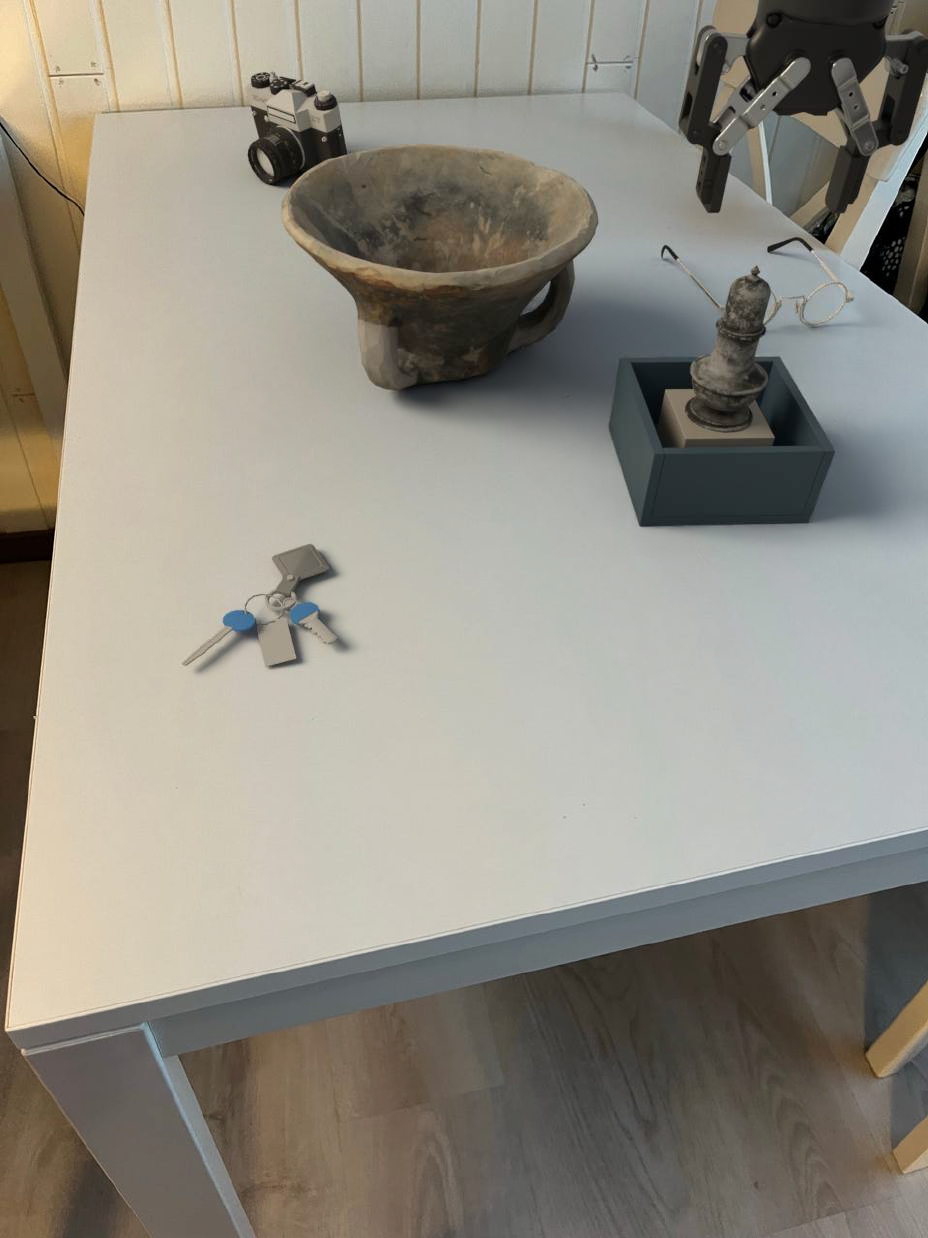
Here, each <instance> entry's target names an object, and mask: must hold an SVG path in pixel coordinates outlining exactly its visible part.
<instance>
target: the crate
mask: <svg viewBox="0 0 928 1238" xmlns="http://www.w3.org/2000/svg"><path fill="white" fill-rule="evenodd" d="M699 357H700V356H669V357H668V356H665V357H664V356H661V357H660V356H659V357H658V356H657V357H656V356H655V357H650V356H649V357H648V356H646V357H645V356H643V357H639V356H638V357H637V356H636V357H635V356H634V357H631V356H630V357H619V359H618V365H617V372H616V378H615V383H614V390H613V395H612V402H611V408H610V414H609V420H608V425H607V428H608V430H609V431H608V432H609V433H610V436H611V441H612V443H613V447H614V449H615V453H616V456H617V460H618V462H619V465H620V469H621V472H622V475H623V478H624V481H625V484H626V488H627V491H628V494H629V497H630V500H631V504H632V507H633V510H634V514H635V517H636V520H637V523H638V526H639V527H655V526H656V527H657V526H658V527H659V526H662V527H663V526H665V527H666V526H704V525H705V526H709V525H710V526H711V525H712V526H714V525H755V524H757V525H758V524H761V525H762V524H763V525H765V524H806V523H810V521H811V518H812V515H813V513H814V511H815V508H816V506H817V502H818V500H819V498H820V494H821V492H822V490H823V486H824V483H825V481H826V480H827V479H826V478H827V476H828V474H829V470H830V467H831V465H832V462H833V460H834V457H835V455H836V449H835V448H834V446H833V444H832V443H831V441H830V439H829V437H828V436H827V434H826V433H825V431H824V429H823V427H822V426H821V424H820V422H819V420H818V419H817V417H816V415H815V414H814V412H813V411H812V409H811V407H810V406H809V404H808V402H807V400H806V399H805V396H804V395H803V393H802V392H801V390H800V388H799V386H798V385H797V383H796V382H795V380H794V378H793V376H792V375H791V373H790V371H789V369H788V368H787V366H786V365H785V363H784V361H783V360H782V357H781V356H779V355H778V356H777V355H776V356H773V355H772V356H755V362H756V363H757V364H759V365H760V366H761V367H762V368H763V369H764V370H765V372H766V373H767V375H768V382H767V385H766V387H765V388H763V389H762V390H761V391H760V393H759V395H758V397H757V398H756V399H755V401H756V403H757V404H758V406H759V408H760V410H761V412H762V414H763V416H764V418H765V420H766V422H767V424H768V425H769V427H770V429H771V431H772V433H773V435H774V437H775V439H774V442H773V445H772V446H756V447H685V448H662V445H661V442H660V440H659V437H658V434H657V428H658V423H659V418H660V414H661V409H662V404H663V399H664V394H665V390H666V389H693V385H692V376H691V374H690V366H691V364H692V362H693V361H695V360H696V359H697V358H699Z"/></svg>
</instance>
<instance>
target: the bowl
mask: <svg viewBox="0 0 928 1238" xmlns="http://www.w3.org/2000/svg"><path fill="white" fill-rule="evenodd" d="M347 154H348V155H345V156H340V157H337V158H332V159H328V160H325V161H324V162H322V163H320V164H318V165H317V166H315V167H313V168H311V169H310V170H308V171H307V172H303V174H302V175H301V176H300V177H298V178H297V179H296V180H295V182H294V183H293V184H292V185H291V186H290V188H289V189H288V190H287V192H286V193H285V195H284V197H283V198H282V201H281V208H280V217H281V218H280V219H281V221H282V224H283V227H284V229H285V231H286V232H287V233H288V235H289V236H290V237H291V238H292V240H293V241H294V242H295V243H296V245H298V246H299V247H300V248H301V249H302V250H303V251H304V252H305V253H307V254H308V256H310V257H311V258H312V259H313V260H314V261H315V263H317V265H319V266H320V267H322V268H323V269H324V270H325V271H327V273H329V274H330V275H331V276H332V277H333V278H334V279H335V280H336V281H337V282H338V283H339V284H340V285H341V286H342V287H343V288H344V289H345V290H346V291H347V292H348V294H350V296H351V297H352V299H353V300H354V303H355V306H356V307H355V308H356V311H357V334H358V336H357V337H358V344H359V345H358V346H359V352H360V359H361V365H362V366H363V368H364V371H365V373H366V375H367V378H368V380H369V381H370V382H371V383H372V384H373V385H374V386H376V387H379V388H381V389H383V390H389V391H399V390H402V389H405V388H408V387H411V386H416V385H424V384H425V385H426V384H434V383H439V382H440V383H441V382H448V381H459V380H465V379H468V378H471V377H473V376H480V375H486V374H488V373H490V372H492V371H494V370H495V369H497V368H498V367H500V366H501V365H502V364H504V363H505V361H506V360H507V358H508V355H509V353H511V352H514V351H517V350H521V349H524V348H527V347H530V346H534V345H536V344H538V343H540V342H542V341H543V340H544V339H546V338H547V337H548V336H549V335H550V334H551V333H552V332H554V331H555V330H556V329H557V327H558V326H559V324H560V323H561V322H562V320H563V319H564V317H565V314H566V311H567V309H568V306H569V304H570V301H571V298H572V294H573V290H574V286H575V280H576V275H575V274H576V273H575V264H574V259H576V258H577V257H578V256H579V255H580V254H581V253H583V252H584V251H585V250H586V248H587V247H588V246H589V245H590V243H592V240H593V238H594V237H595V234H596V233H597V227H598V226H599V213H598V210H597V207H596V205H595V202H594V200H593V198H592V196H591V195H590V193H589V192H588V191H587V190H586V188H585V187H583V186H582V185H581V184H580V183H578V181H576V179H574V178H573V177H571V176H570V175H568V174H566V173H564V172H561V171H559V170H556V169H553V168H552V169H551V168H548V167H545V166H543V165H540V164H538V163H536V162H533V161H531V160H529V159H527V158H525V157H522V156H520V155H517V154H513V153H510V152H509V153H508V152H504V151H502V150H496V149H490V148H479V147H478V148H477V147H476V148H475V147H468V146H467V147H466V146H458V145H448V144H433V143H407V144H400V145H392V146H382V147H377V148H372V149H365V150H360V151H356V152H351V153H347ZM548 284H549V286H548V291H547V293H546V295H545V297H544V299H543V300H542V302H541V303H540V304H539V305H538V306H537V307H536V308H534V309H532V310H531V311H528V312H525V313H523V312H524V310H525V309H526V308H527V306H528V305H530V303H531V302H532V301H533V300H534V298H536V297H537V296H538V294H540V292H541V291H542V290H543V289H544V288H545V287H546V286H547V285H548ZM522 313H523V314H522Z"/></svg>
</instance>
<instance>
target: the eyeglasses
mask: <svg viewBox="0 0 928 1238" xmlns="http://www.w3.org/2000/svg"><path fill="white" fill-rule="evenodd" d="M793 242H799V243H801V244H802V245H803V247H805V249H807V250H808V251H809V253H810V254H812V255H813V256H815V258H816V259H817V260H818V262H819V264H820V265H821V266H822V267H823V268H824V270H825V272H826V273H827V274H828V275H829V276H830V278H832V281H828V282H825V283H823V284H821V285H820V286H817V288H815V289H814V290H813V291H812V292H810V294H809V295H808V296H807V297H805V295H804V294H802V295H796V296H795V295H794V296H787V295H782V296H779V298H778V301H777V297H776V295H775V293H774V292H773V291H772V290H771V294H772V296H773V300H774V301H773V302H772V304H771V306H770V308H769V310H768V311H767V314H768V316H767V317H766V318H764V320H763V324H764V326H765V327H766V325H768V324H769V323H770V322H771V321H773V320H774V318H775V317H776V315H777V314H778V312H779V310H780V308H782V307H783V303H782V301H783V299H784V300H785V299H789V300H793V299H796V300H794V311H795V314H798V315H797V316H798V319H799V321H800V322H801V324H802V325H805V326H806V327H813V328H817V327H819V325H822V324H825V323H827V322H829V321H830V320H832V319H833V318H834V317H836V316H837V315H838V314H839V313H840V311H841V310H842V309H843V308H844V307H845V304H847V303H851V302H854V300H855V297H854V296H853V294H852V293H851V292H850V291H849V290H848V288H847V286H845V285H844V284H843V283H842V281H841V280H839V278H838V277H837V276H836V275H835V274H834V272H833V271H832V270H831V269H830V268H829V267H828V266H827V264H826V263H825V262H824V261H823V260H821V259H820V258H819V256H818V255H817V254H816V251H815V249H814V248H813V247H812V246H811V244H810V243H808V242H807V241H806V240H805V239H804V238H802V237H800V236H794V237H791V238H788V239H784V240H782V241H779V242H776V243H773V244H770V245H768V246H767V248H766V252H767V253H772V252H774V251H777V250H778V249H780V248H782V247H785V246H787V245H788V244H791V243H793ZM665 250H666V251H667V252H668V253H669V254H670V256H671V257H672V258H673V259H674V261H675V262H677V263H678V264H679V265H680V266H681V267H682V268H683V269H684V270H685V273H686V274H687V275H688V276H689V277H690V278H691V280H692V281H693V282H694V283H695V285H697V287H699V289H700V290H701V291H702V292H703V294H705V296H706V297H707V298H708V299H709V300H710V301H711V303H712V304H713V305H714V306H715V307H716V308H717V309H718V310H719V312H724V310H725V306H726V304H725V305H723V304H720V303H719V302H718V301H717V299H715V297H714V296H713V295H712V294H711V293H710V292H709V291H708V290H707V289H706V288H705V286H704V285H703V284H702V283H701V281H699V280H698V279H697V278H696V277H695V275H694V274H693V273H692V272H691V270H689V269H688V268H687V267H685V265H684V264H683V263H682V261H681V258H680V257H679V256H678V255H677V254H676V253H675V251H674V250H673V249H672V248H671V246H669V245H668V244H664V245H662V247H661V251H660V258H661V260H663V258H664V254H665ZM830 285H837V286H838V287H839V288H840V290H841V291H842V292H843V293H844V298H843V300H842V303H841V304H840V306H839V307H838V308H837V310H836V311H835V312H834V313H832V314H831V315H830V316H828V317H827V318H825V319H824V320H821V321H817V322H811V321H807V320H806V318H805V315H804V313H805V310H806V309H805V308H806V306H807V304H808V302H809V301H810V299H811V298H812V297H813V296H814V295H815V294H816V293H817V292H818V291H820V290H821V289H823V288H824V287H825V288H826V287H827V286H830ZM798 299H800V301H799V302H798Z"/></svg>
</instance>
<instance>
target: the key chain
mask: <svg viewBox="0 0 928 1238" xmlns="http://www.w3.org/2000/svg"><path fill="white" fill-rule="evenodd" d="M271 560H272V562H273V564H274V565H275V567H276V568H277V570H278V571H279V572H280V574H281V576H282V578H281V581H280V582H279V584H278V585H277V586H276V588H275V589H272V590H270V591H269V592H268V593H259V594H258V593H257V594H254V595H252V596H250V597H249V598H248V599H247V600H246V601H245V603H244V605H243V609H236V610H231V611H228V612H227V613H225V615H224V616H223V617H222V624H223V625H224V627H223V628H221V629H220V630H218V632H216V633H215V634H214V635H213V636H212V637H211V638H210V639H208V640H206V641H205V642H204V643H202V645H200V646H199V647H198V648H197V649H195V651H194V652H192V653H191V654H190V655H189V656H188V657H187V658H186V659H184V660H183V661H182V662H181V664H182V665H183V666H185V667H187V666H188V665H190V664H192V663H193V662H194V661H195V660H196V659H198V658H199V657H202V656H203V655H204V654H206V653H207V651H208V650H210V649H211V648H212V647H213V646H214V645H216V644H218V643H219V642H220V641H222V639H223V638H225V637H226V636H227V635H228V634H229V633H231V632H232V631H234V632H238V633H242V632H247V631H249V630H251V629H252V628H254V626H255V625H256V624H258V625H257V626H256V632H257V637H258V640H259V646H260V650H261V654H262V659H263V662H264V667H265V668H268V667H271V666H275V665H278V664H282V663H285V662H290V661H293V660H296V659H297V655H296V652H295V647H294V643H293V639H292V635H291V632H290V628H289V624H288V620H287V619H286V618H283V617H282V616H283V615H284V613H285V612H288V613H289V618H290V621H291V623H292V624H295V625H296V626H299V625H303V626H304V628H305V629H309V630H310V632H311V634H312V636H315V635H316V637H317V639H320V638H321V639H322V640H321V642H322V643H323V644H327V645H330V644H333V643H335V642H336V641H337V640H338V637H337V635H336V634H334V633H333V631H331V629H329V628H328V626H326V625H325V624H324V623H323V622H322V621H321V620H320V619H319V614H320V613H321V609H320V608H319V605H318V604H316V603H314V602H312V601H303V602H300V603H299V601H298V596H297V594H296V593H295V592H294V591H295V589H296V587H297V585H298V584H299V583H300V581H302V580H305V579H308V578H311V577H314V576H317V575H319V574H323V573H326V572H328V571H329V570H330V567H329V564H328V563H327V562H326V561H325V559H324V558H323V556H322V555H321V554H320V552H319V551H318V549H317V548H316V546H315V545H314V544H312V543H307V544H305V545H301V546H297V547H295V548H292V549H289V550H287V551H282V552H280V553H277V554H274V555H273V556H272V557H271ZM275 595H283V596H287V597H286V598H285V599H284V600H283V602H282V601H281V600H280V599H279V598H278V597H276V596H275ZM260 596H264V600H263V602H264V606H265V607H266V608H267V609H268V610H269V611H272V612H276V613H280V614H279V616H278V617H276V618H275V619H271V620H267V621H258V620H256V617H255V615H254V614H253V613H252V612H250V611H248V610H247V605H248V604H249V601H251V600H253V599H254V598H257V597H260ZM271 598H273V599H275V600H276V601H277V602H278V603H279V604H280V606H274V605H272V604H270V603H271V602H270V599H271ZM289 600H291V601H290V603H288V604H287V605H286V602H287V601H289Z"/></svg>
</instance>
